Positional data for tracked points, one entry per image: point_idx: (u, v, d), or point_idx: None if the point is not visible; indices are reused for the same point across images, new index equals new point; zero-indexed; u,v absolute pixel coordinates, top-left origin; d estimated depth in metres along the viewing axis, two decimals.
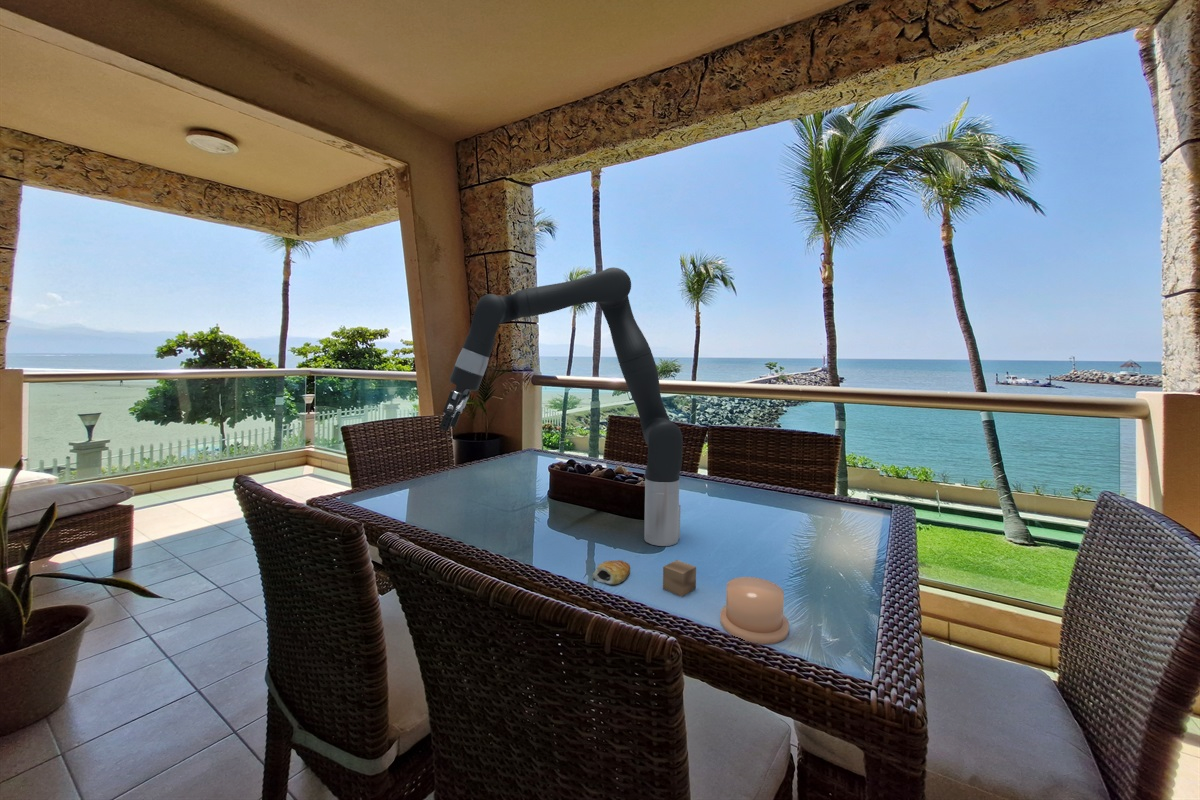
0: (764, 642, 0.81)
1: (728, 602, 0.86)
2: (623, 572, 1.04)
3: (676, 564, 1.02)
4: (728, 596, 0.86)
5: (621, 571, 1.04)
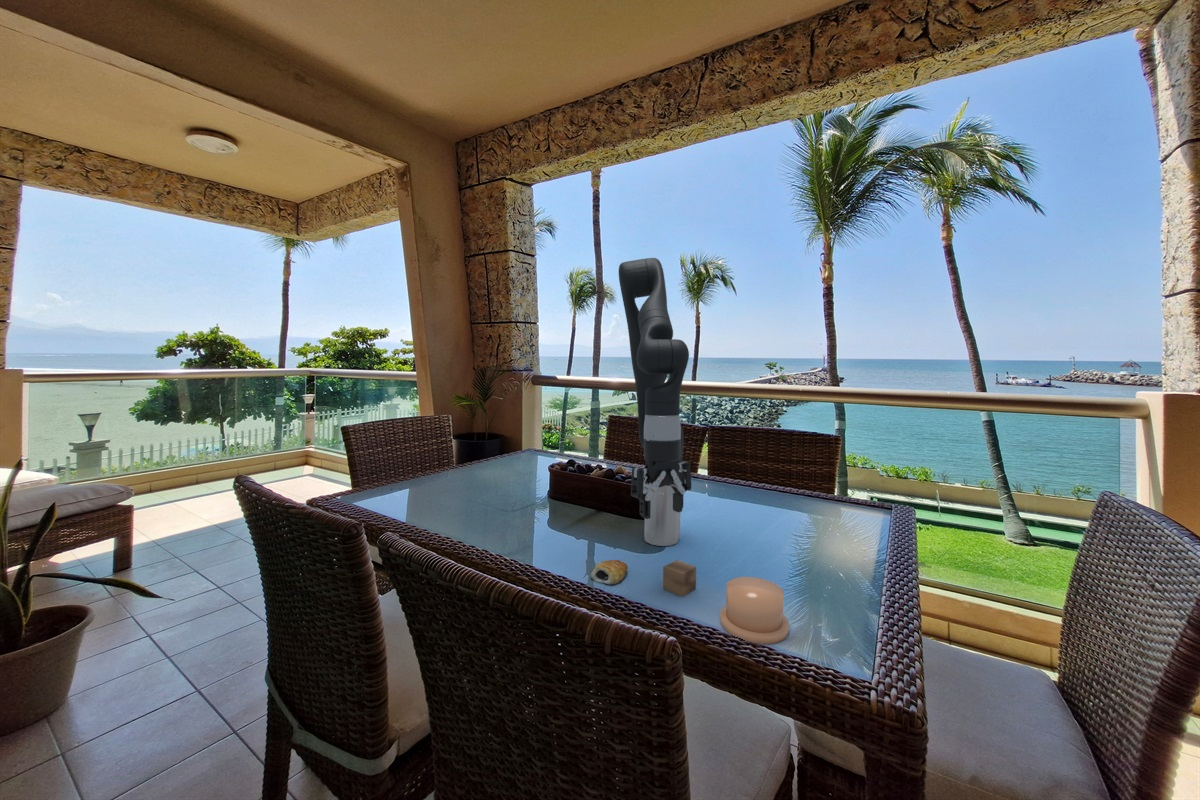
0: (764, 642, 0.81)
1: (728, 602, 0.86)
2: (621, 572, 1.05)
3: (676, 564, 1.02)
4: (728, 596, 0.86)
5: (619, 570, 1.05)
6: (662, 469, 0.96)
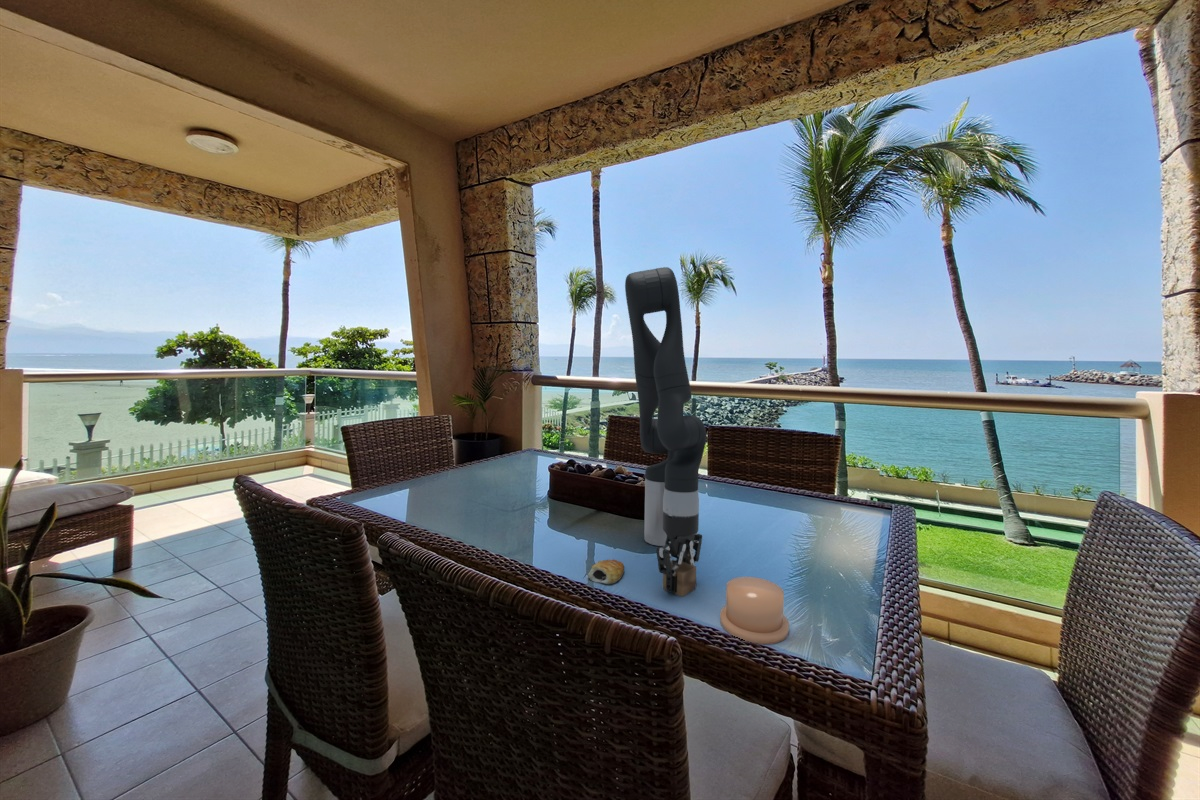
0: (764, 642, 0.81)
1: (728, 602, 0.86)
2: (618, 572, 1.05)
3: None
4: (728, 596, 0.86)
5: (616, 570, 1.05)
6: (681, 541, 0.99)
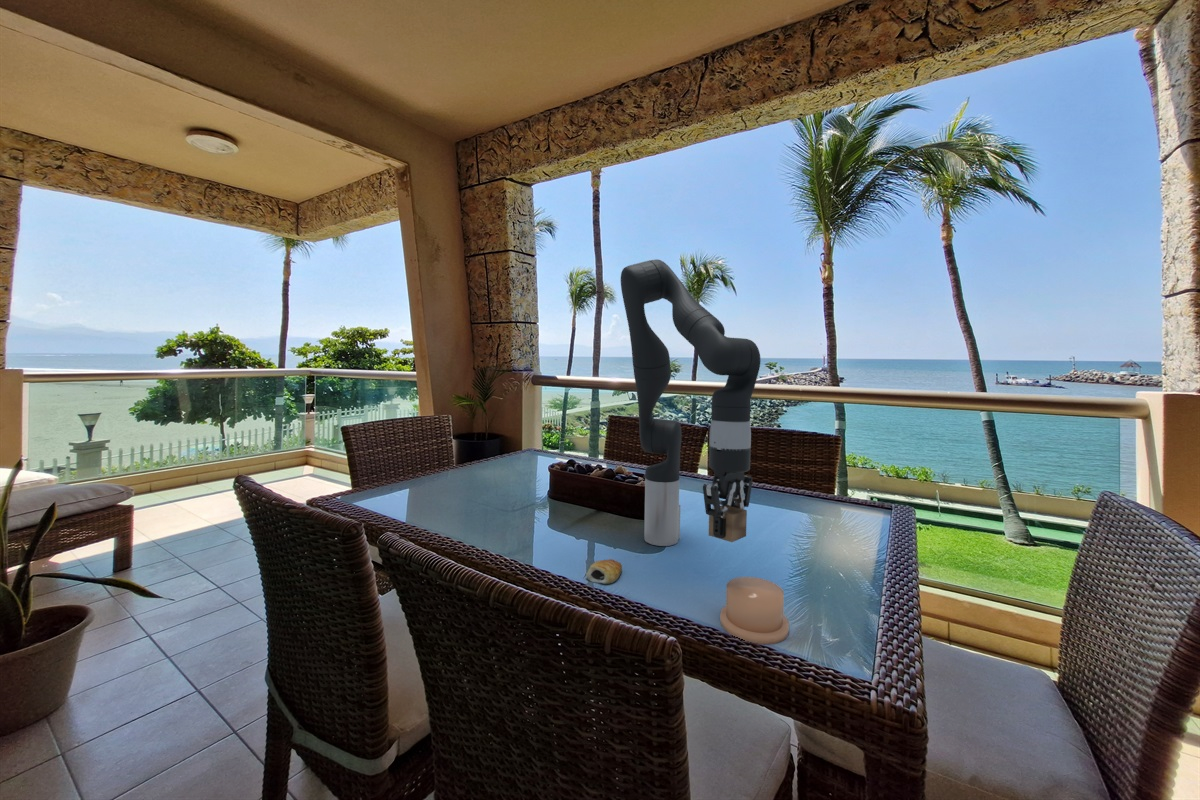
0: (764, 642, 0.81)
1: (728, 602, 0.86)
2: (616, 571, 1.05)
3: None
4: (728, 596, 0.86)
5: (614, 570, 1.05)
6: (731, 480, 0.87)
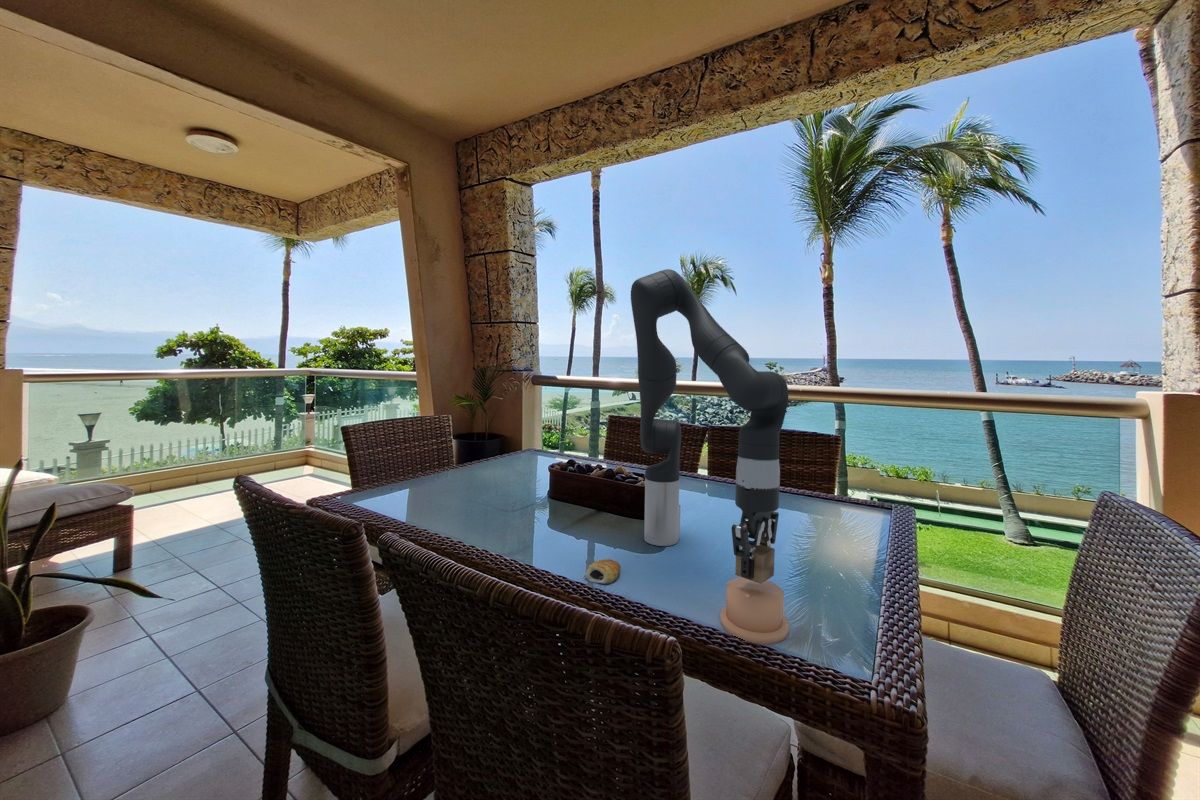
0: (764, 642, 0.81)
1: (728, 602, 0.86)
2: (615, 571, 1.05)
3: None
4: (728, 596, 0.86)
5: (613, 570, 1.05)
6: (759, 519, 0.84)
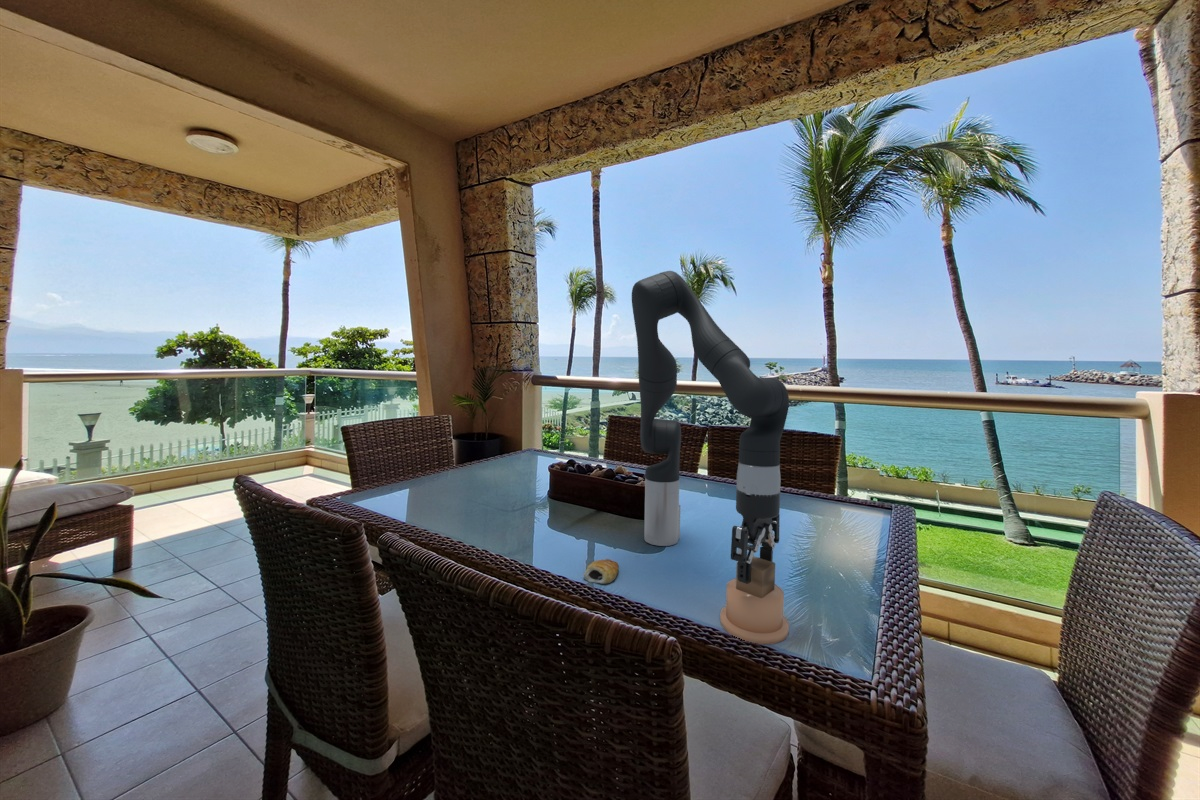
0: (764, 642, 0.81)
1: (728, 602, 0.86)
2: (614, 571, 1.05)
3: None
4: (728, 596, 0.86)
5: (612, 570, 1.05)
6: (760, 525, 0.84)
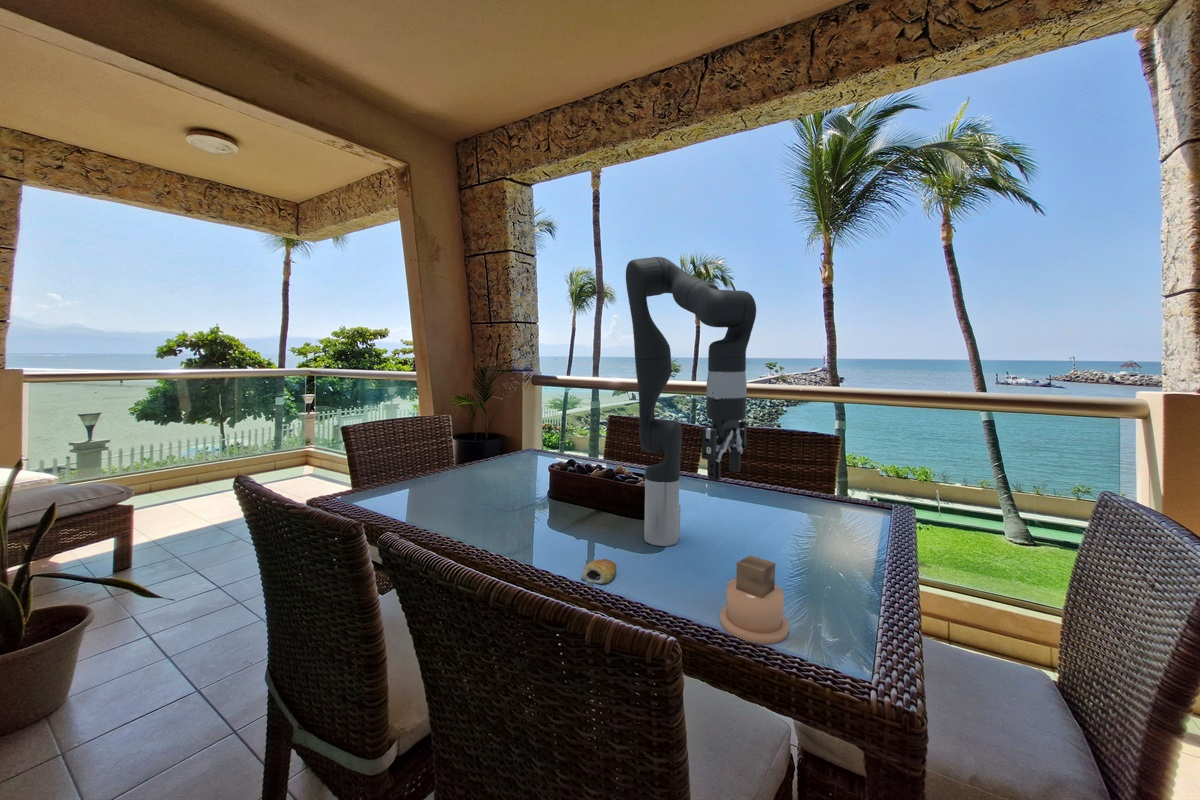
0: (764, 642, 0.81)
1: (728, 602, 0.86)
2: (611, 571, 1.05)
3: (751, 560, 0.88)
4: (728, 596, 0.86)
5: (610, 569, 1.05)
6: (728, 428, 0.91)
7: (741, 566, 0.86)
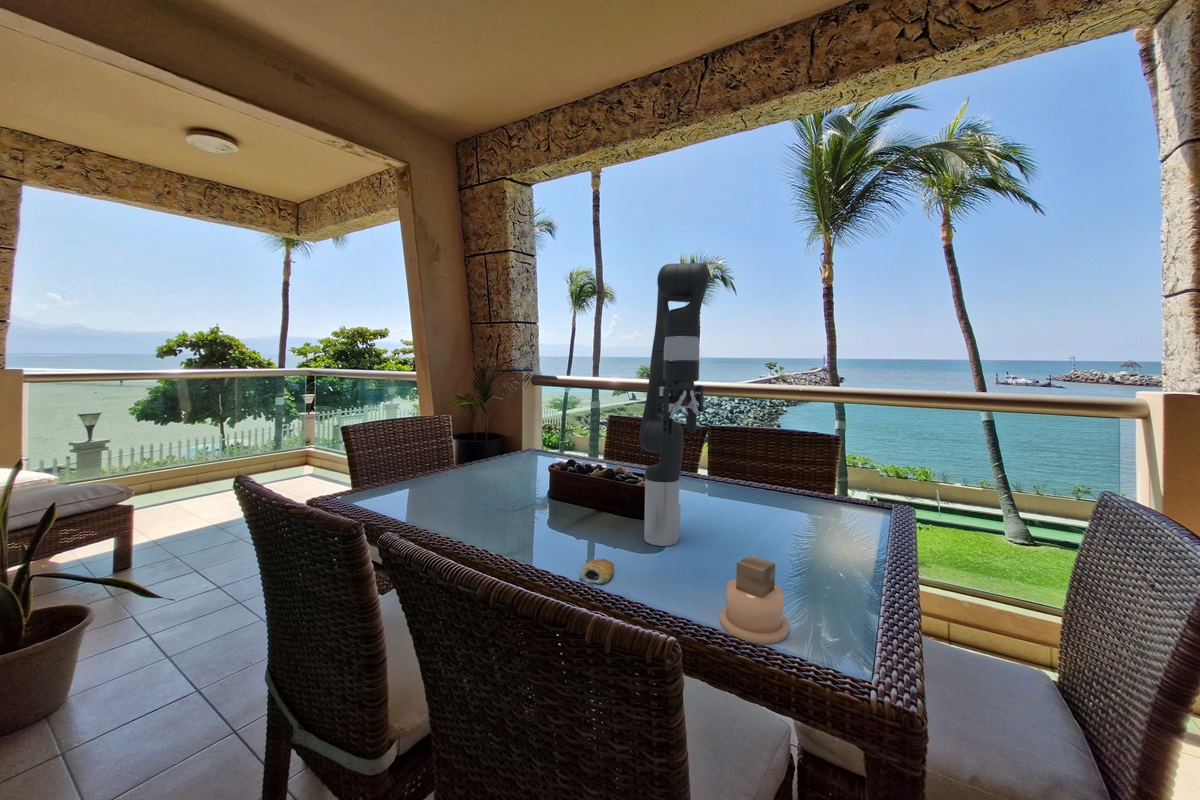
0: (764, 642, 0.81)
1: (728, 602, 0.86)
2: (610, 571, 1.05)
3: (751, 560, 0.88)
4: (728, 596, 0.86)
5: (608, 569, 1.05)
6: (682, 389, 1.00)
7: (741, 566, 0.86)
